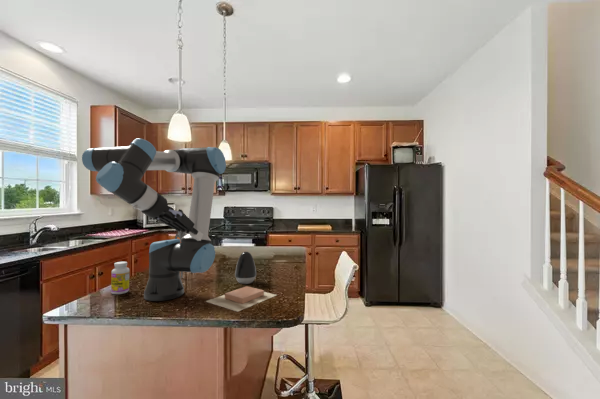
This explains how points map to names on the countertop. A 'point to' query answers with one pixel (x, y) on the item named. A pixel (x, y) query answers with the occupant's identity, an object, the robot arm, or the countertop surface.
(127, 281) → the supplement bottle
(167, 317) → the countertop surface
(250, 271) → the black glossy egg shape
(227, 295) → the tile
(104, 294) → the countertop surface
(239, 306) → the cloth
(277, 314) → the countertop surface
